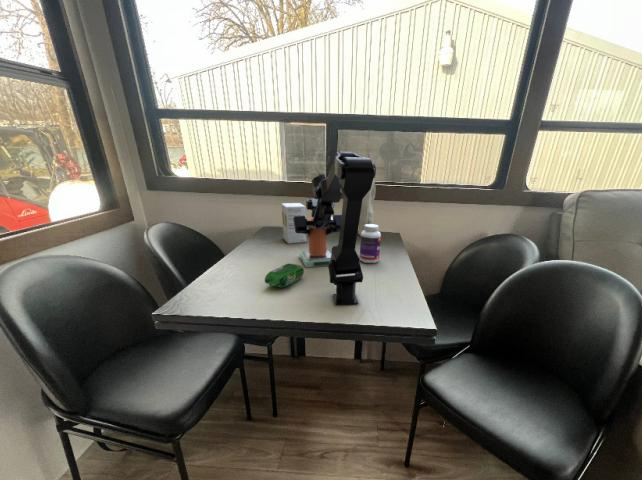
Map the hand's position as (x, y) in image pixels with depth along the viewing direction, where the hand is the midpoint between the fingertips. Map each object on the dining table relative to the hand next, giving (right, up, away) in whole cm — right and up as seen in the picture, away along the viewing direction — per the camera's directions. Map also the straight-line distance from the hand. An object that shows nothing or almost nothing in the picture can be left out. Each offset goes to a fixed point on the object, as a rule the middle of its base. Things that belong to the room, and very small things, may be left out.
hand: (316, 235), depth 115 cm
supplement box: (-14, +4, +28) cm, 32 cm away
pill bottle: (+21, -9, +6) cm, 24 cm away
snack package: (-8, -20, -17) cm, 27 cm away
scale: (0, -10, +3) cm, 10 cm away
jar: (0, -6, +2) cm, 7 cm away
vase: (+21, +9, +42) cm, 48 cm away
